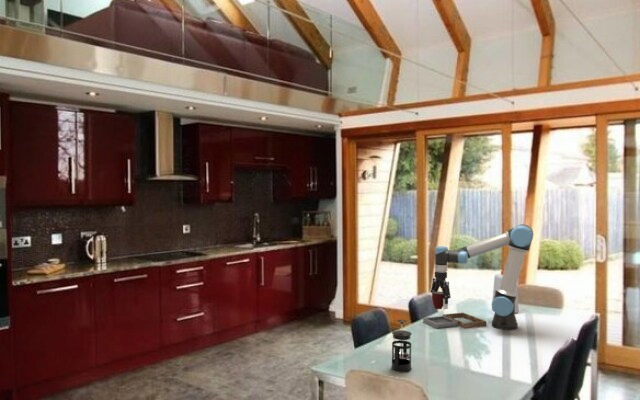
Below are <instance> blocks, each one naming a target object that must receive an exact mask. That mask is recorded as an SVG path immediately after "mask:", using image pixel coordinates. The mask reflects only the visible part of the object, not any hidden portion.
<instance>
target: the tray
mask: <svg viewBox="0 0 640 400" xmlns="http://www.w3.org/2000/svg"><path fill="white" fill-rule="evenodd" d="M422 320H423V321H422V323H423V324H424V325H427V326H429V327H431V326H432V327H431V328H433V327H434V328H433V329H436V330H441V329H448V328H457V327H459V326H458V322H457V321H454V320H452V319H450V318H447V317H445V316H442V315H440V316H432V317H422Z"/></svg>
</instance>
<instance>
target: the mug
mask: <svg viewBox="0 0 640 400" xmlns="http://www.w3.org/2000/svg"><path fill="white" fill-rule="evenodd" d="M443 298H444V295H443V292H442V291H439V290H438V291H437V292H432V293H431V299H432V300H431V301H432V305H433V307H434V309H435V310H443Z"/></svg>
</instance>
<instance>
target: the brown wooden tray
mask: <svg viewBox="0 0 640 400" xmlns="http://www.w3.org/2000/svg"><path fill="white" fill-rule="evenodd" d="M441 316H445V317H447V318H450V319H452V320H454V321H457V322H458V327H461V329H465V330H466V329H474V328H481V327H487V320H484V319H481V318H479V317H476V316H473V315H471V314H468V313H465V312H456V313H445V314H442V315H441ZM462 318H463V319H465V320H468V321H471V322H463V321H461V320H458V319H462Z"/></svg>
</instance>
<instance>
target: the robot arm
mask: <svg viewBox="0 0 640 400" xmlns="http://www.w3.org/2000/svg"><path fill="white" fill-rule="evenodd" d="M533 239H534V231H533V229H532V228H531V226H529V225H527V224H525V223H524V224H523V223H522V224H518V225H516V226H515V227H512V228H511V229H508V230H506V231H505V232H504V233H501V234H498V235H495V236H492V237H490V238H486V239H483V240H481V241H478V242H475V243H472V244H470V245H466V246H464V247H459V248H457V249H456V250H450V249H448V247H447V246H444V245H440V246H439V245H438V246H436V247H435V251H434V252H435V253H434V277H433V278H432V283H431V287H430V293H431V294H432V292H437V291H439V289H441V292H443V295H444V298H443V307H442V310H448V308H449V306H448V305H449V299H451V290H450V282H449V281H446V280H447V278H448V263H451V264H452V263H453V264H460V265H461V264H462V265H464V264H467V263H468V260H469V259H471V258H473V257H476V256H477V257H478V256H479V255H482V254H485V253H488V252H489V253H490V252H492V251H495V250H498V249H501V248H505V247H507V246H508V247H509V251H508V255H507V259H506V263H505V266H504V270H503V271H504V273H503V277H502V280H501V284H500V287H499V288H498V289H496V290H495V296H494V299H493V298H492V300H493V301H492V302H491V309H493V310H492V311H493V312H494V314H493V316H492V317H493V318H492V320H491V326H492V327H493V328H495V329H500V330H505V331H506V330H510V331H512V330H517V329H518V328H519V325H518V322H517V317H516V314H515V300H516V296H517V295H516V293H515V289H516V285H517V286H518V281H519V278H520V274H521V270H522V267H523V263H524V259H525V255H526V254H527V252H530V249H531V245H532V241H533Z"/></svg>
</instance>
